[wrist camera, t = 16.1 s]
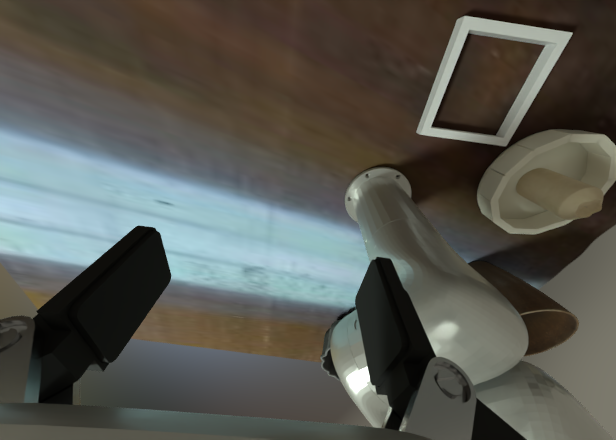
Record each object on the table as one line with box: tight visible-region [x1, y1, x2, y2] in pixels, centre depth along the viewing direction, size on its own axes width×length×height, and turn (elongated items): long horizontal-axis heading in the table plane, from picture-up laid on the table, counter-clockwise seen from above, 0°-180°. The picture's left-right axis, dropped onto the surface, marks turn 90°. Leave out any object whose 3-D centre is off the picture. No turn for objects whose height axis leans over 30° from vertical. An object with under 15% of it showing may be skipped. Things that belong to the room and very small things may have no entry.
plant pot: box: [469, 261, 579, 356], centre depth 46 cm, size 15×15×16 cm
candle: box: [516, 168, 603, 220], centre depth 36 cm, size 6×6×10 cm
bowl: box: [477, 129, 616, 234], centre depth 39 cm, size 18×18×4 cm
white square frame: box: [416, 16, 573, 146], centre depth 33 cm, size 14×14×2 cm
